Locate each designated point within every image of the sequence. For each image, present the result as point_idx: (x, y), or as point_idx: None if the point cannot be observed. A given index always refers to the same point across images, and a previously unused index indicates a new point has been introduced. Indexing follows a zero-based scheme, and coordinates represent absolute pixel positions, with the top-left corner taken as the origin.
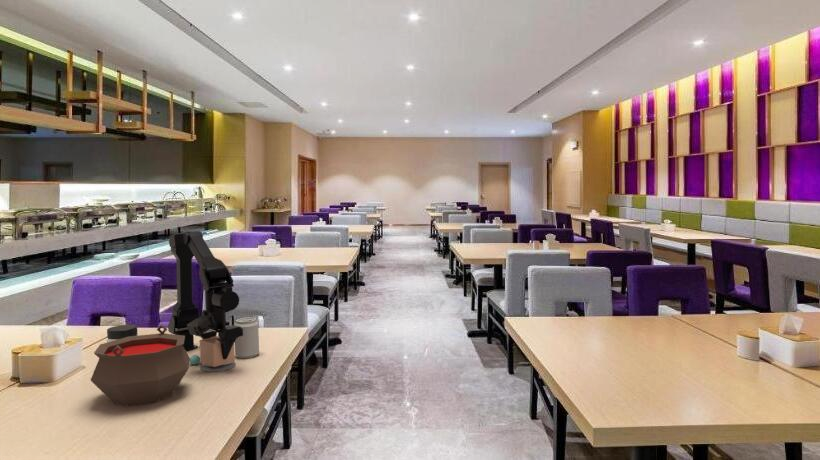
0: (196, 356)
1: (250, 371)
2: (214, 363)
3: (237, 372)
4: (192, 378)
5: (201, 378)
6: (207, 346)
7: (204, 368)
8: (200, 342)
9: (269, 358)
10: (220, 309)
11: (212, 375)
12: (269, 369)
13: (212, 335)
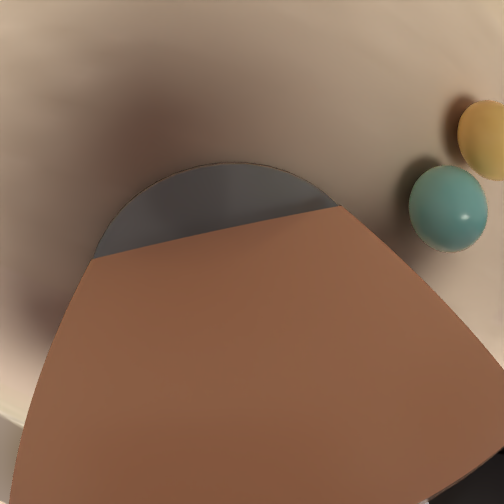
0: (453, 227)
1: (19, 378)
2: (82, 285)
3: (21, 338)
4: (58, 27)
5: (7, 96)
6: (209, 456)
7: (229, 192)
8: (497, 396)
9: None
10: None
11: (23, 194)
12: None
13: (450, 498)
